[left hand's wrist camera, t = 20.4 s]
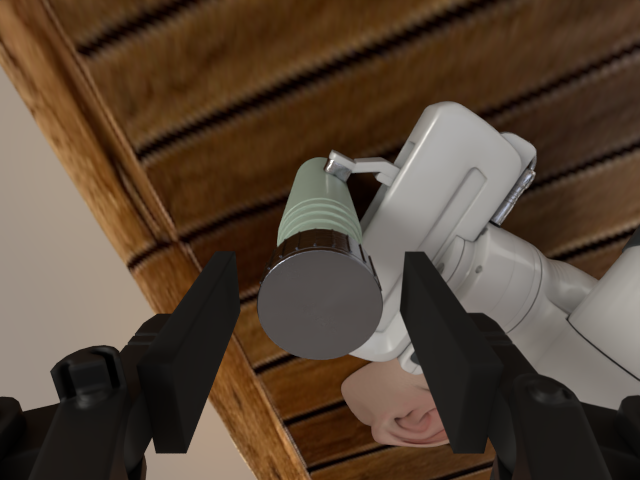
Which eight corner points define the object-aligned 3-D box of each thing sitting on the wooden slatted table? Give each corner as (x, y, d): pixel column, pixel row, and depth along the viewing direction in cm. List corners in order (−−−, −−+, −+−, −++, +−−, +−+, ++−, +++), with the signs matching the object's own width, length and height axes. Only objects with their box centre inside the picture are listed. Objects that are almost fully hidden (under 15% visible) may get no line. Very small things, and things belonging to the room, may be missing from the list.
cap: (290, 338, 16) (285, 375, 14) (246, 249, 14) (233, 274, 12) (388, 307, 15) (399, 340, 13) (354, 210, 14) (360, 229, 12)
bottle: (351, 194, 33) (397, 326, 14) (307, 213, 34) (290, 364, 14) (333, 149, 32) (354, 223, 12) (287, 169, 32) (237, 270, 13)
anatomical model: (325, 427, 38) (399, 357, 35) (325, 398, 42) (391, 332, 38) (417, 480, 41) (493, 420, 37) (409, 449, 44) (477, 392, 41)
